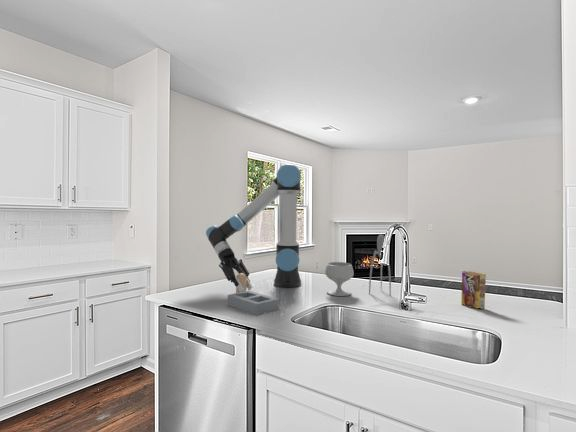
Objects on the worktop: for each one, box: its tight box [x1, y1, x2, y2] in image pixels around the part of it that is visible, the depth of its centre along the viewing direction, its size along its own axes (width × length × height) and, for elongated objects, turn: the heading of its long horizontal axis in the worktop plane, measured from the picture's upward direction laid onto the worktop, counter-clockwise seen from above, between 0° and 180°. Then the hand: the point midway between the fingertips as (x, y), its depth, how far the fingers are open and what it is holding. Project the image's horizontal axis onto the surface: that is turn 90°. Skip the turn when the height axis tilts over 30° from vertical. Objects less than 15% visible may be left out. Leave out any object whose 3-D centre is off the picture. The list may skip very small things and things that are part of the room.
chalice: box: [324, 261, 355, 297], centre depth 178 cm, size 14×14×15 cm
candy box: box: [460, 270, 487, 309], centre depth 158 cm, size 9×4×15 cm, turn 26°
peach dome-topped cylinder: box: [235, 273, 247, 293], centre depth 172 cm, size 5×5×11 cm
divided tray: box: [227, 290, 280, 316], centre depth 153 cm, size 12×20×4 cm, turn 44°
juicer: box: [368, 233, 392, 296], centre depth 178 cm, size 10×9×30 cm
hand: (246, 289), depth 170 cm, fingers closed on peach dome-topped cylinder, 5 cm apart
